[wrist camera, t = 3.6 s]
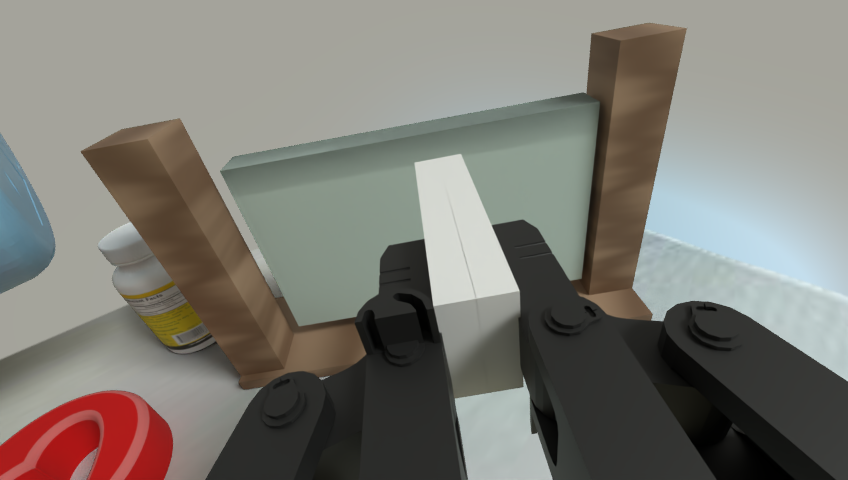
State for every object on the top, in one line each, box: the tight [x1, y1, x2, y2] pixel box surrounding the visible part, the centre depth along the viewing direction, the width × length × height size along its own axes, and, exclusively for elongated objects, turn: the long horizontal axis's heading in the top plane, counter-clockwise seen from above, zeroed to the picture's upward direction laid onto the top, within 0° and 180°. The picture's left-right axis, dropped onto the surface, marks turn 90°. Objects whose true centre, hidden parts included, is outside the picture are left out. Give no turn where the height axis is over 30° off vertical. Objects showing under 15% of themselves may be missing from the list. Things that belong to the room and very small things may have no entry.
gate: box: [220, 93, 600, 326], centre depth 24 cm, size 20×2×12 cm, turn 94°
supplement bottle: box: [98, 222, 216, 354], centre depth 28 cm, size 5×5×10 cm
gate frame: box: [81, 23, 686, 390], centre depth 23 cm, size 27×8×17 cm, turn 94°
